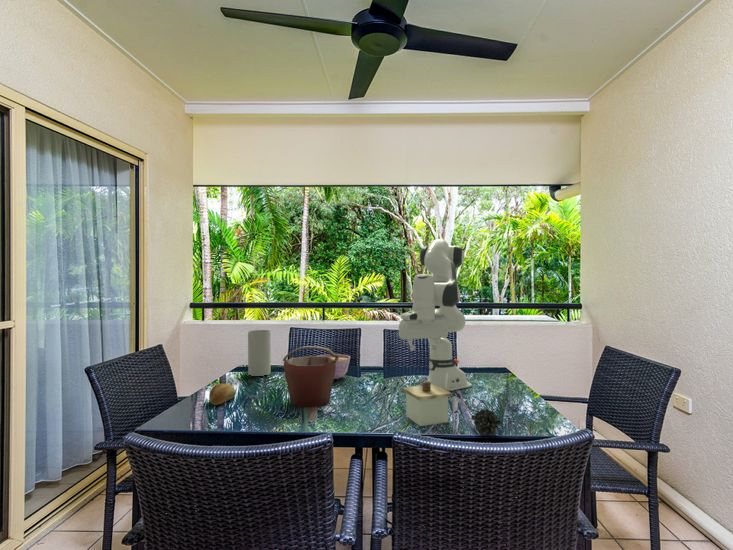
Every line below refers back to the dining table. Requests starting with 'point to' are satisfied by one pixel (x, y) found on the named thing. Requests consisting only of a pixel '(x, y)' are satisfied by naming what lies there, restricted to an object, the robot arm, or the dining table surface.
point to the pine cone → (486, 421)
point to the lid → (426, 391)
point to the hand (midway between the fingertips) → (423, 349)
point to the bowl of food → (340, 364)
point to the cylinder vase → (259, 353)
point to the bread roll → (221, 393)
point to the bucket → (310, 378)
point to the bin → (427, 410)
